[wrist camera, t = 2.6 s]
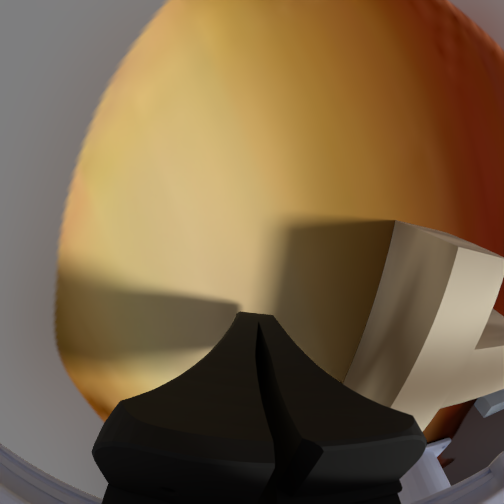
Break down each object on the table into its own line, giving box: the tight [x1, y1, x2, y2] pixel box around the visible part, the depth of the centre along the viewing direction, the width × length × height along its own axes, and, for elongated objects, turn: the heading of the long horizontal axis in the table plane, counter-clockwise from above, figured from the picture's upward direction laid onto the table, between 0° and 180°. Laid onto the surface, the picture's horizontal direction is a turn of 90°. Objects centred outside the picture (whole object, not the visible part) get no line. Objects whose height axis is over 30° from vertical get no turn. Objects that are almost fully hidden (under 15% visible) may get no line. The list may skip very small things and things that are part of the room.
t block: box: [343, 220, 504, 432], centre depth 10 cm, size 10×9×4 cm
